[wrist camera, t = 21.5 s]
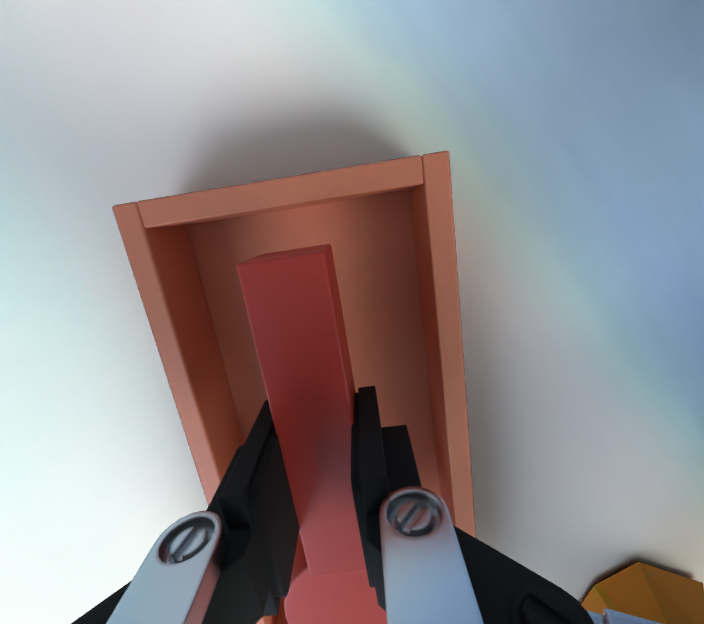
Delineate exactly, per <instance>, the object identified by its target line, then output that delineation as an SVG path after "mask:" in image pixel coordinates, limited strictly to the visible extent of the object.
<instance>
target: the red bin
mask: <svg viewBox="0 0 704 624" xmlns="http://www.w3.org/2000/svg"><path fill="white" fill-rule="evenodd" d="M112 209H113V212H114V215H115V218H116V221H117V224H118V227H119V231H120V234H121V237H122V240H123V243H124V246H125V249H126V252H127V255H128V258H129V261H130V265H131V268H132V271H133V274H134V277H135V280H136V283H137V286H138V289H139V292H140V295H141V299H142V302H143V305H144V308H145V311H146V314H147V317H148V320H149V323H150V326H151V329H152V333H153V336H154V339H155V342H156V345H157V348H158V351H159V354H160V357H161V360H162V363H163V367H164V370H165V373H166V376H167V379H168V382H169V385H170V388H171V391H172V394H173V397H174V400H175V404H176V407H177V410H178V413H179V416H180V419H181V422H182V425H183V428H184V431H185V434H186V438H187V441H188V444H189V447H190V450H191V453H192V456H193V459H194V462H195V465H196V468H197V472H198V475H199V478H200V481H201V484H202V487H203V490H204V493H205V496H206V499H207V502H208V506H209V504H210V502H211V500H212V498H213V496H214V494H215V492H216V490H217V488H218V486H219V484H220V482H221V480H222V478H223V476H224V474H225V472H226V470H227V468H228V466H229V464H230V462H231V460H232V458H233V456H234V454H235V452H236V450H237V449H238V447H239V446H241V445H244V443H245V441H246V439H247V437H248V435H249V433H250V431H251V429H252V427H253V425H254V423H255V420H256V418H257V416H258V414H259V412H260V410H261V408H262V406H263V404H264V402H265V400H268V398H267V394H266V389H265V385H264V381H263V377H262V372H261V368H260V364H259V360H258V356H257V351H256V347H255V343H254V339H253V335H252V330H251V326H250V322H249V318H248V314H247V309H246V305H245V301H244V297H243V293H242V288H241V284H240V280H239V276H238V272H237V264H238V263H240V262H243V261H246V260H248V259H251V258H254V257H256V256H259V255H262V254H267V253H273V252H279V251H286V250H292V249H299V248H305V247H312V246H318V245H324V244H330V245H331V246H332V252H333V258H334V264H335V270H336V276H337V282H338V288H339V294H340V300H341V306H342V313H343V319H344V325H345V331H346V337H347V343H348V349H349V355H350V361H351V367H352V373H353V379H354V385H355V391H356V393H357V392H358V388H360V387H367V386H375V387H376V394H377V401H378V408H379V414H380V421H381V427H389V426H397V425H405V424H406V425H407V429H408V433H409V437H410V441H411V445H412V449H413V453H414V457H415V461H416V465H417V469H418V473H419V477H420V482H421V486H422V487H423V488H427V489H429V490H431V491H433V492H435V493H437V494H438V495H439V496H440V497H441V498H442V499H443V500H444V502H445V504H446V506H447V508H448V510H449V513H450V516H451V520H452V523H453V525H454V526H456V527H457V528H459V529H461V530H463V531H464V532H466V533H468V534H469V535H471V536H473V537H475V538H476V528H475V514H474V500H473V486H472V471H471V457H470V443H469V429H468V414H467V400H466V386H465V372H464V357H463V343H462V329H461V315H460V301H459V286H458V272H457V258H456V244H455V229H454V215H453V201H452V187H451V172H450V158H449V152H448V151H441V152H435V153H429V154H424V155H422V156H420V155H417V156H411V157H405V158H399V159H393V160H386V161H380V162H374V163H368V164H362V165H356V166H350V167H344V168H338V169H331V170H325V171H319V172H313V173H307V174H301V175H295V176H289V177H283V178H276V179H270V180H264V181H258V182H252V183H246V184H240V185H234V186H228V187H221V188H215V189H209V190H203V191H197V192H191V193H185V194H179V195H173V196H166V197H160V198H154V199H148V200H142V201H138V202H131V203H124V204H118V205H114V206H113V207H112ZM299 535H300V532H299ZM299 535H298V536H299ZM284 599H285V597H281V600H280V605H279V611H278V615H272V616H263V617H262V618H261V619H260V620H259V621H258V622H257V623H256V624H288V622H287V619H286V616H285V610H284Z"/></svg>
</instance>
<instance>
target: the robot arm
mask: <svg viewBox="0 0 704 624" xmlns="http://www.w3.org/2000/svg"><path fill="white" fill-rule="evenodd" d="M351 487H352V494H353V500H354V505H355V510H356V516H357V521H358V527H359V532H360V538H361V543H362V549H363V554H364V559H365V565H366V570H367V576H368V581H369V586H370V588H372V587H375V590H376V596H377V601H378V605H379V606H380V607H381V608H382V609H383V610H384V611H386V616H387V624H662V623H658V622H655V621H651V620H647V619H644V618H640V617H636V616H633V615H629V614H625V613H622V612H618V611H614V610H611V609H607V608H604V613H603V615H602V614H599V613H595V612H592V611H588V610H585V609H584V607H583V606H582V605H581V604H580V603H579V602H578V601H577V600H576V599H575V598H574V597H572V596H571V595H570V594H568V593H567V592H566V591H564V590H563V589H562V588H560V587H558V586H556V585H555V584H553V583H551V582H550V581H548V580H546V579H544V578H543V577H541V576H539V575H538V574H536V573H534V572H533V571H531V570H529V569H527V568H526V567H524V566H522V565H521V564H519V563H517V562H515V561H514V560H512V559H510V558H509V557H507V556H505V555H504V554H502V553H500V552H498V551H497V550H495V549H493V548H492V547H490V546H488V545H486V544H485V543H483V542H481V541H480V540H478V539H476V538H475V537H473V536H471V535H469V534H468V533H466V532H464V531H463V530H461V529H459V528H457V527H456V526H454V525H453V523H452V520H451V516H450V513H449V510H448V508H447V506H446V504H445V502H444V500H443V499H442V498H441V497H440V496H439V495H438V494H437V493H435V492H433V491H431V490H429V489H427V488H423V487H422V486H421V482H420V477H419V473H418V469H417V465H416V461H415V457H414V453H413V449H412V445H411V441H410V437H409V433H408V429H407V425H406V424H405V425H397V426H389V427H381V421H380V414H379V408H378V401H377V394H376V387H375V386H367V387H360V388H358V392H357V393H354V424H353V425H351ZM299 530H300V528H299V524H298V520H297V515H296V511H295V507H294V503H293V498H292V494H291V490H290V486H289V481H288V477H287V473H286V469H285V464H284V460H283V456H282V452H281V447H280V443H279V439H278V435H277V434H276V431H275V427H274V423H273V419H272V415H271V410H270V406H269V402H268V400H265V402H264V404H263V406H262V408H261V410H260V412H259V414H258V416H257V418H256V420H255V423H254V425H253V427H252V429H251V431H250V433H249V435H248V437H247V439H246V441H245V443H244V445H241V446H239V447H238V449H237V450H236V452H235V454H234V456H233V458H232V460H231V462H230V464H229V466H228V468H227V470H226V472H225V474H224V476H223V478H222V480H221V482H220V484H219V486H218V488H217V490H216V492H215V494H214V496H213V498H212V500H211V502H210V504H209V506H208V508H207V510H206V511H199V512H195V513H191V514H189V515H187V516H185V517H182V518H181V519H179V520H178V521H176V522H175V523H173V524H172V525H170V526H169V527H168V528H167V529H166V530H165V531H164V532H163V533H162V534H161V535H160V536H159V538H158V539H157V540H156V542H155V543H154V545H153V547H152V548H151V550H150V552H149V553H148V555H147V557H146V558H145V560H144V562H143V563H142V565H141V566H140V568H139V570H138V571H137V573H136V575H135V576H134V578H133V580H132V581H130V582H129V583H128V584H126V585H125V586H123V587H122V588H121V589H119V590H118V591H116V592H115V593H114V594H112V595H111V596H109V597H108V598H107V599H105V600H104V601H102V602H101V603H100V604H98V605H97V606H95V607H94V608H93V609H91V610H90V611H88V612H87V613H85V614H84V615H83V616H81V617H80V618H78V619H77V620H76V621H74V622H73V623H71V624H256V623H257V622H258V621H259V620H260V619H261V618H262V617H263V616H272V615H278V611H279V605H280V600H281V597H286V596H287V595H288V592H289V587H290V581H291V576H292V570H293V564H294V558H295V553H296V547H297V541H298V535H299Z"/></svg>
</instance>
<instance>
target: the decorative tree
mask: <svg viewBox="0 0 704 624" xmlns="http://www.w3.org/2000/svg"><path fill="white" fill-rule="evenodd" d="M581 605H582V606H583V607H584V609H585V610H588V611H592V612H595V613H599V614H602V615H603V613H604V608H607V609H611V610H614V611H618V612H622V613H625V614H629V615H633V616H636V617H640V618H644V619H647V620H651V621H655V622H658V623H662V624H704V589H703V583H701V582H698V581H695V580H692V579H689V578H686V577H683V576H680V575H677V574H674V573H671V572H668V571H665V570H662V569H659V568H656V567H653V566H650V565H647V564H644V563H641V562H637V563H635V564H633V565H631V566H629V567H627V568H625V569H624V570H622V571H620V572H618V573H616V574H614V575H612V576H610V577H609V578H607V579H605V580H603V581H601V582H599V583H597V584H596V585H594V586H593V588H592V589H591V591H590V592H589V593H588V595H587V596H586V598H585V599H584V601H583V602H582V604H581Z"/></svg>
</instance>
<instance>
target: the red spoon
mask: <svg viewBox="0 0 704 624" xmlns="http://www.w3.org/2000/svg"><path fill="white" fill-rule="evenodd" d="M237 272H238V276H239V280H240V284H241V288H242V293H243V297H244V301H245V305H246V309H247V314H248V318H249V322H250V326H251V330H252V335H253V339H254V343H255V347H256V351H257V356H258V360H259V364H260V368H261V372H262V377H263V381H264V385H265V389H266V394H267V398H268V402H269V406H270V410H271V415H272V419H273V423H274V427H275V431H276V434H277V435H278V439H279V443H280V447H281V452H282V456H283V460H284V464H285V469H286V473H287V477H288V481H289V486H290V490H291V494H292V498H293V503H294V507H295V511H296V515H297V520H298V524H299V528H300V530H299V532H300V535H299V536H298V541H297V547H296V553H295V558H294V564H293V570H292V576H291V581H290V587H289V592H288V595H287V596H286V597H285V599H284V610H285V616H286V619H287V622H288V624H387V616H386V611H384V610H383V609H382V608H381V607H380V606H379V605H378V601H377V596H376V590H375V587H372V588H370V586H369V581H368V576H367V570H366V565H365V559H364V554H363V549H362V543H361V538H360V532H359V527H358V521H357V516H356V510H355V505H354V500H353V494H352V487H351V425H353V424H354V393H356V391H355V385H354V379H353V373H352V367H351V361H350V355H349V349H348V343H347V337H346V331H345V325H344V319H343V313H342V306H341V300H340V294H339V288H338V282H337V276H336V270H335V264H334V258H333V252H332V246H331V245H330V244H324V245H318V246H312V247H305V248H299V249H292V250H286V251H279V252H273V253H267V254H262V255H259V256H256V257H254V258H251V259H248V260H246V261H243V262H240V263H238V264H237Z"/></svg>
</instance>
